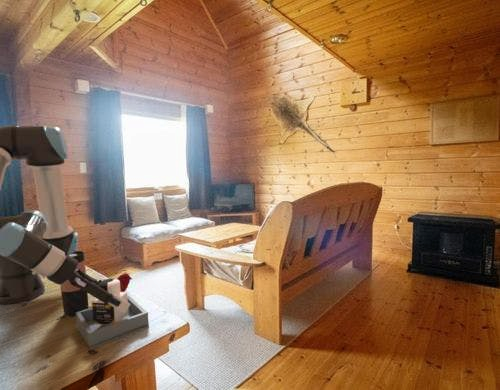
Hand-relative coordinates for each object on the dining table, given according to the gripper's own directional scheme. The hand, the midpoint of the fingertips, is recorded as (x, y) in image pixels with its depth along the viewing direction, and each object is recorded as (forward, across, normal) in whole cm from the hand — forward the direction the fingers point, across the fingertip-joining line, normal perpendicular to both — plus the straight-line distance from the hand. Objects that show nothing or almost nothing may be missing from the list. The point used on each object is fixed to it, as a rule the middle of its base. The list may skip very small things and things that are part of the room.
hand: (121, 302), depth 92 cm
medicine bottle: (+1, 0, -5) cm, 5 cm away
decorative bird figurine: (+6, -20, -3) cm, 21 cm away
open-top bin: (+3, 0, -7) cm, 7 cm away
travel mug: (-2, -19, -11) cm, 22 cm away
